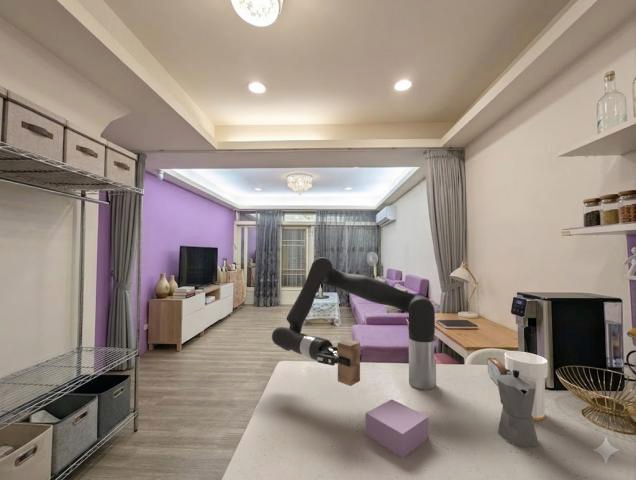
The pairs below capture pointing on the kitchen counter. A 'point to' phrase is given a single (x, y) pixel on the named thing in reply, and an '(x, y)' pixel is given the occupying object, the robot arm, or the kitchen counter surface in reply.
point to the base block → (397, 427)
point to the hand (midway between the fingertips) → (355, 360)
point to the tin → (495, 368)
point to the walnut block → (352, 352)
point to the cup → (530, 376)
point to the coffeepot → (517, 409)
